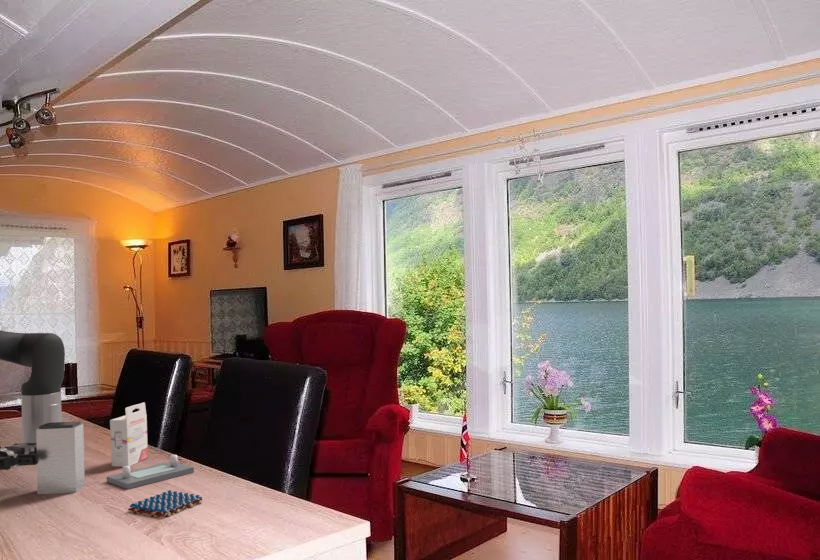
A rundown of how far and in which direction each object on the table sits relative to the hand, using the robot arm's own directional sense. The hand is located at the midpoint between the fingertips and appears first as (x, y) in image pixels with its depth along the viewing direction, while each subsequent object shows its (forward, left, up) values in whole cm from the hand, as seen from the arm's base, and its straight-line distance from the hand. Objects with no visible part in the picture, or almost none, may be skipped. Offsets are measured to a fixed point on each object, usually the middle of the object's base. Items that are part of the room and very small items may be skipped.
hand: (47, 454), depth 141 cm
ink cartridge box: (-22, +10, -8) cm, 26 cm away
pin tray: (-7, +20, -8) cm, 23 cm away
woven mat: (+16, +30, -9) cm, 35 cm away
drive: (0, +3, -8) cm, 9 cm away
